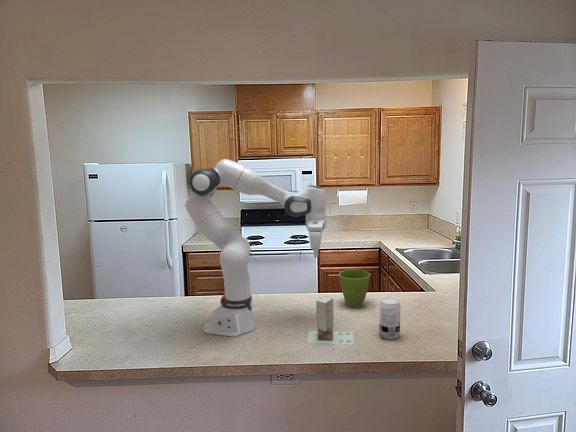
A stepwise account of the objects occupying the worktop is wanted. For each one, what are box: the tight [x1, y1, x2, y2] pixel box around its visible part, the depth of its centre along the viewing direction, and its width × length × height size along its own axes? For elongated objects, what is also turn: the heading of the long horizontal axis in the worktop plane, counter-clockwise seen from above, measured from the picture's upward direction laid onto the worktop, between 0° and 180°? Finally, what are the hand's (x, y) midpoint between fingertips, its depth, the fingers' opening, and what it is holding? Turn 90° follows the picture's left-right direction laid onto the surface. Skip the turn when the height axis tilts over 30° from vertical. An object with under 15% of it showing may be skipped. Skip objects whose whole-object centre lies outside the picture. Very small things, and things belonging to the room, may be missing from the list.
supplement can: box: [378, 297, 401, 340], centre depth 165 cm, size 8×8×15 cm
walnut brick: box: [317, 326, 334, 341], centre depth 163 cm, size 6×6×4 cm
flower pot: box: [338, 269, 371, 309], centre depth 198 cm, size 15×15×16 cm
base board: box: [307, 330, 354, 345], centre depth 163 cm, size 18×10×2 cm, turn 83°
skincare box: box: [315, 295, 335, 331], centre depth 162 cm, size 6×4×12 cm
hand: (316, 254), depth 176 cm, fingers open, 8 cm apart
